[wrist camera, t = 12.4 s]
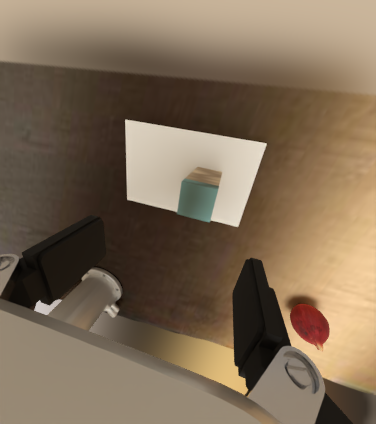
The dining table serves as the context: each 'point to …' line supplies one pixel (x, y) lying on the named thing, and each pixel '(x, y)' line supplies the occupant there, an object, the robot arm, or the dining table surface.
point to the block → (199, 194)
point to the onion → (310, 324)
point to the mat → (189, 166)
